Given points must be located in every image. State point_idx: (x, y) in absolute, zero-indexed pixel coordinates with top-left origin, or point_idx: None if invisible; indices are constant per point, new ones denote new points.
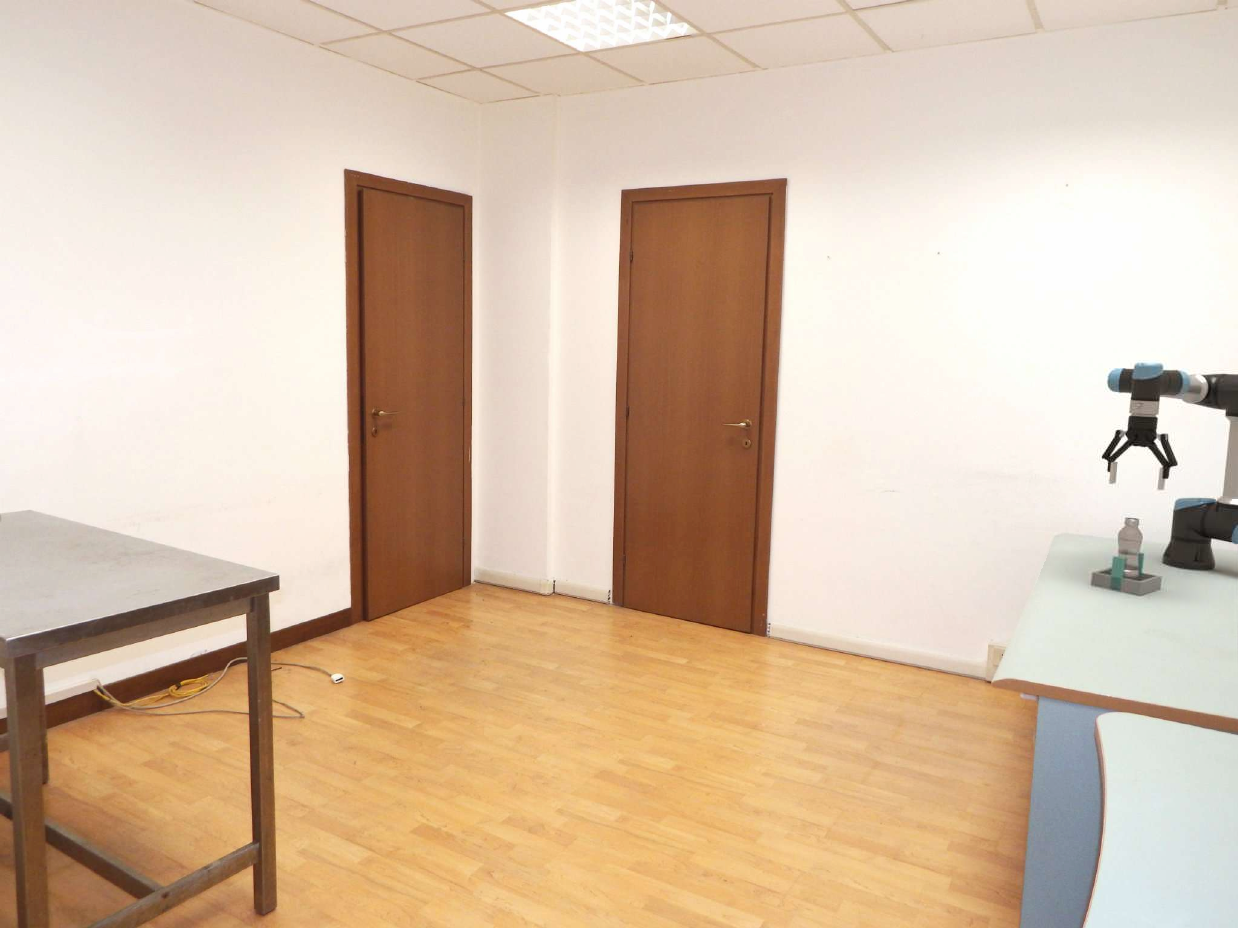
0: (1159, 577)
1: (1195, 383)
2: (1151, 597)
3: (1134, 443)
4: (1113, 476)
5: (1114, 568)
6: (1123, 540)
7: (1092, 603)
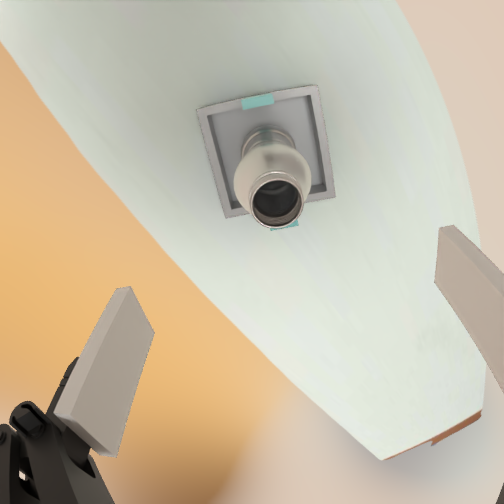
0: (319, 97)
1: None
2: (346, 175)
3: None
4: (134, 355)
5: None
6: (272, 211)
7: (319, 311)
